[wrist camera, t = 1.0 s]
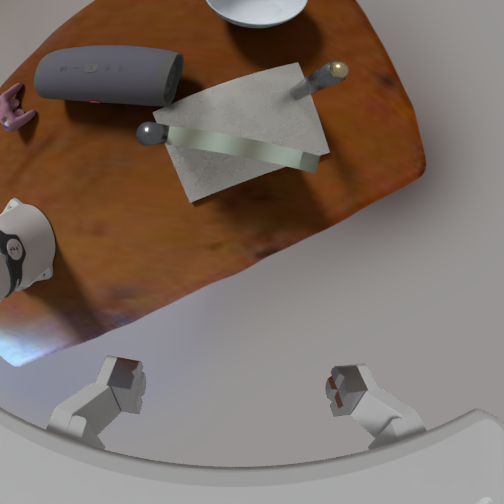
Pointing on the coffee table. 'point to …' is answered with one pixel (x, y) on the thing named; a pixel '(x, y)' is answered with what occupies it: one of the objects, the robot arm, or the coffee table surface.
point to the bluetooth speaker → (110, 75)
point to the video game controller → (5, 104)
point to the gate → (242, 148)
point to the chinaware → (257, 11)
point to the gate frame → (244, 124)
